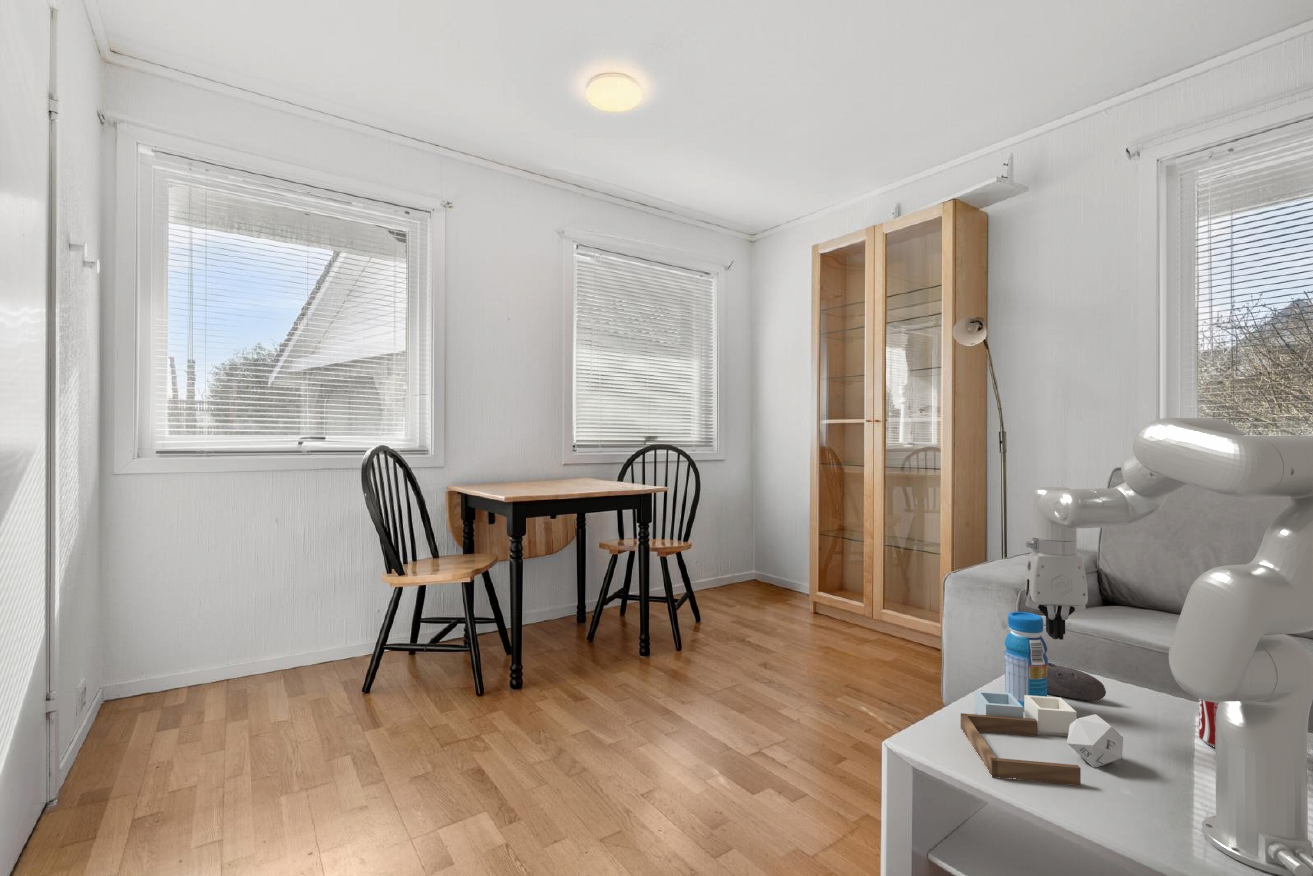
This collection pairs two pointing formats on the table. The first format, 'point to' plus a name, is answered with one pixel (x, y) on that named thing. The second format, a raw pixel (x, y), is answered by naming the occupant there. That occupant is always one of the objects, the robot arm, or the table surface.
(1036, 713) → the offwhite cup
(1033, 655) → the beverage bottle
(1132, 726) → the table surface
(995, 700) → the greyblue cup
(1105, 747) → the die
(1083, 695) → the perforated stone tool
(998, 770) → the walnut bay
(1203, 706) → the soda can
